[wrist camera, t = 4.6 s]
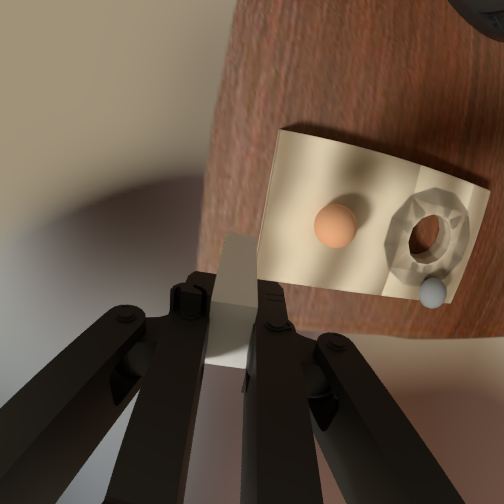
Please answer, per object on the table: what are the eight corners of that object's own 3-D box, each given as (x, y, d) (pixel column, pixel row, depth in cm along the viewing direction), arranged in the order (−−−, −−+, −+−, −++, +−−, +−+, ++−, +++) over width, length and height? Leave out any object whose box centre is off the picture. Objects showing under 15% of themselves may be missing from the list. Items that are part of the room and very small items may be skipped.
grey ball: (410, 282, 28) (423, 297, 25) (434, 267, 28) (448, 281, 25) (418, 303, 29) (429, 319, 26) (440, 289, 29) (454, 303, 26)
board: (254, 265, 30) (253, 277, 28) (278, 129, 25) (280, 129, 23) (440, 292, 32) (450, 303, 29) (476, 185, 26) (490, 191, 24)
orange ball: (303, 212, 26) (310, 225, 22) (339, 191, 25) (351, 202, 22) (322, 245, 27) (330, 263, 24) (357, 226, 26) (370, 241, 23)
